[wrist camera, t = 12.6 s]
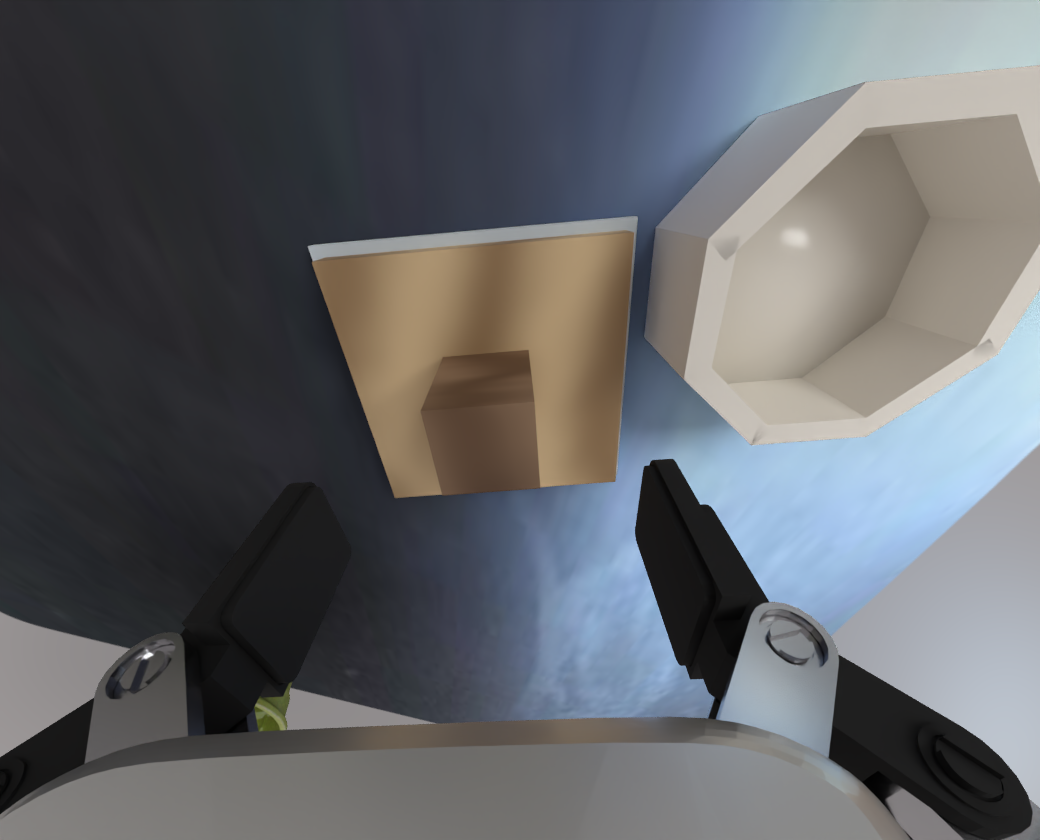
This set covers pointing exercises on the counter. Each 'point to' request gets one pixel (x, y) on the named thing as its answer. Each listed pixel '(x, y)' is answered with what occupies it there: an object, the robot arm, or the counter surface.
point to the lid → (488, 359)
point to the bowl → (854, 254)
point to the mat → (486, 237)
